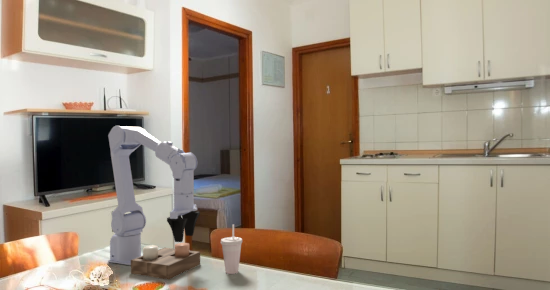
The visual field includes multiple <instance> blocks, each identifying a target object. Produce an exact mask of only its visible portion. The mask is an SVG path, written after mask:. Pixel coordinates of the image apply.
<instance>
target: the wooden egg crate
mask: <svg viewBox="0 0 550 290" xmlns="http://www.w3.org/2000/svg"><path fill="white" fill-rule="evenodd" d="M198 266H201V251H196V250H189V256H187V257H184V258H182V257H175V248H171V247H162V248H160V249H158V258H157V259H154V260H151V261H150V260H143V255H141V256H140V257H138V258H135V259H132V260H131V265H130V274H131V275H138V276H143V277H144V276H145V277H150V278H156V279H161V280H162V279H163V280H167V281H169V280H171V279H173V278H175V277H178V276H180V275H181V274H184V273H186V272H188V271H190V270H193V269H194V268H196V267H198Z"/></svg>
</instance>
